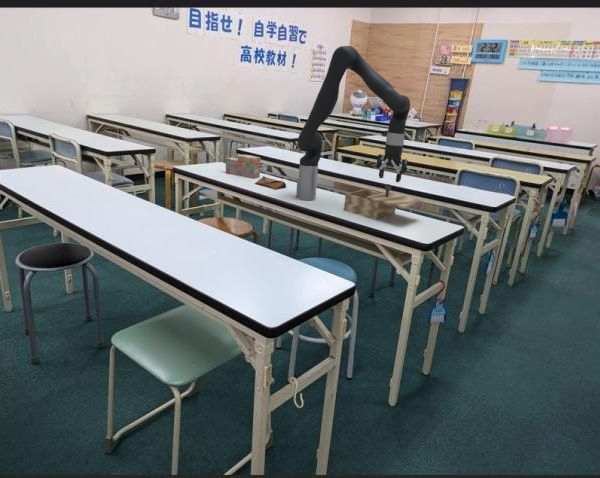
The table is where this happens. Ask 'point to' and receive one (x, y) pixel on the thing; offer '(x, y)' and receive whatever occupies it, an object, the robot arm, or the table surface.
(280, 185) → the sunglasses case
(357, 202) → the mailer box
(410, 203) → the box lid
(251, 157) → the stack of blocks
